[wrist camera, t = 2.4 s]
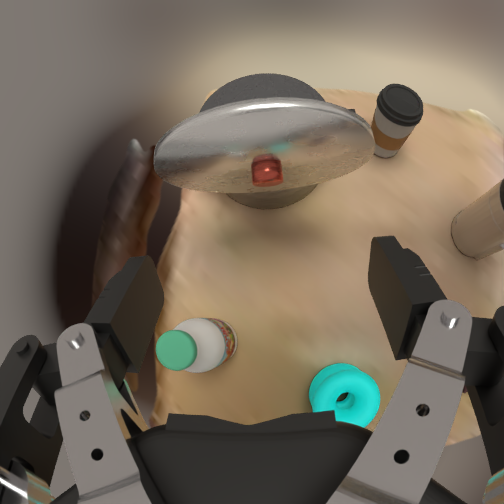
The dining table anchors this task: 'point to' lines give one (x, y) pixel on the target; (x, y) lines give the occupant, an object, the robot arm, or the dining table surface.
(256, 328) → the dining table surface
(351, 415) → the donuts
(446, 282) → the dining table surface
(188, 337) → the milk bottle
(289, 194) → the cooking pot
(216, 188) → the lid
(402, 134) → the coffee cup
